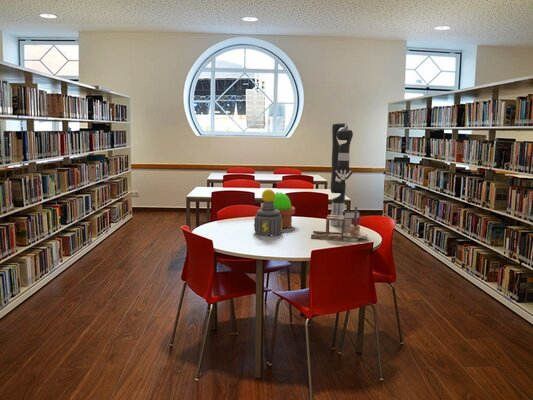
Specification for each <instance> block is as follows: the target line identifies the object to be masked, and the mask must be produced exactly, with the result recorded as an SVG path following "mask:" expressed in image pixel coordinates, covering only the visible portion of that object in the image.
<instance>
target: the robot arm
mask: <svg viewBox="0 0 533 400" xmlns="http://www.w3.org/2000/svg"><path fill="white" fill-rule="evenodd" d="M331 126H332V128H331V135H332V139H331V140H332V142H331V143H332V144H331V145H332V149H331V150H332V151H331V177H330V179H331V180H330V192H331V194H340V195H337V196H335V197H333V198H331V199H332V200H331V211H330V215H342V216H343V211H345V207H346V206H345V203H346V190H347V189H346V188H347V186H346V185H347V183H346V180H348V179H349V178H350V177H351V176H352V174H353V171H352V170H350V157H351V156H350V146H351V142H352V139H353V135H354V132H353V131H352V130H351V129H348V124H347V123H345V122H333V123H332V125H331ZM339 141H346V142H344V143H339ZM347 174H348V175H347ZM336 179H339V180H336ZM329 226H332V227H342V221H332V220H330V224H329Z"/></svg>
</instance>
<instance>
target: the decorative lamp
mask: <svg viewBox="0 0 533 400" xmlns="http://www.w3.org/2000/svg"><path fill="white" fill-rule="evenodd" d="M275 194H276V192H275V191H274V190H272V189H269V188H268V189H264V191H263V192H262V194H261V199H262V201H263V203H262V207H261V208H260V209H257V210H256V213H255V216H254V218H253V220H254V224H253V227H254V233H255V234H256V235H258V234H260V235H259V236H263V235H275V236H278V234H279V235H281V234H282V230H283V228H282V218H281V215H280V211H279V210H277V209H275V207H274V204H273V203H274V202H273V201H274V200H275Z"/></svg>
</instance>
